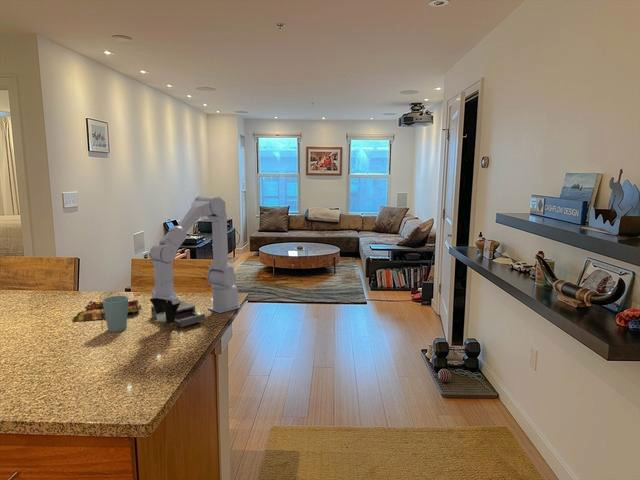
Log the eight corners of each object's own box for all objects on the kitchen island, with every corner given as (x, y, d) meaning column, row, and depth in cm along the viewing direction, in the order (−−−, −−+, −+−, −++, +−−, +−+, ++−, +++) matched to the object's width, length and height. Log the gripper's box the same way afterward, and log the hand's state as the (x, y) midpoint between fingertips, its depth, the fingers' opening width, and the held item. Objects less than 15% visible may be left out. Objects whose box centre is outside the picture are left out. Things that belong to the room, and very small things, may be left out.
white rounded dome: (169, 314, 138) (169, 310, 137) (178, 318, 134) (177, 314, 134) (153, 318, 133) (153, 314, 133) (161, 323, 130) (161, 318, 129)
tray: (189, 314, 147) (189, 307, 147) (205, 320, 141) (204, 314, 141) (167, 320, 141) (166, 313, 141) (181, 327, 134) (181, 320, 134)
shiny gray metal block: (179, 310, 154) (179, 299, 154) (195, 317, 147) (195, 305, 147) (151, 317, 146) (151, 306, 146) (166, 325, 139) (166, 313, 138)
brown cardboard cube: (168, 327, 136) (167, 316, 136) (173, 330, 134) (172, 318, 134) (160, 330, 134) (159, 318, 134) (164, 332, 132) (163, 321, 132)
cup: (130, 331, 133) (127, 300, 132) (103, 334, 130) (101, 303, 128) (130, 323, 140) (128, 294, 138) (105, 326, 137) (103, 297, 135)
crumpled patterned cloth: (145, 304, 163) (145, 295, 163) (137, 320, 145) (137, 311, 145) (85, 308, 158) (84, 299, 157) (69, 325, 140) (68, 316, 139)
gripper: (141, 278, 133) (144, 318, 136) (163, 286, 124) (165, 329, 126) (162, 275, 139) (163, 313, 141) (184, 282, 129) (185, 323, 131)
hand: (166, 320), depth 134 cm, fingers closed on white rounded dome, 6 cm apart
